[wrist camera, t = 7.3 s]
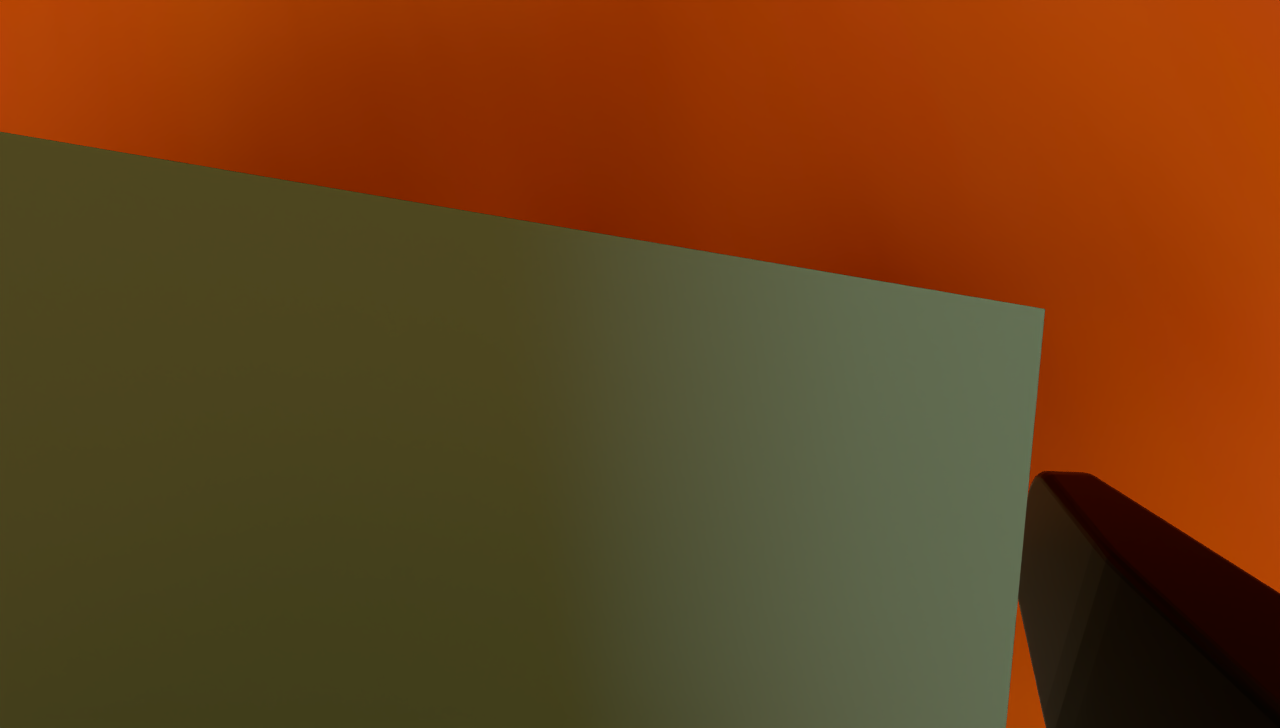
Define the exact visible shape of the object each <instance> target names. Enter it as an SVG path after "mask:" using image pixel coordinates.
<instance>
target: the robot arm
mask: <svg viewBox="0 0 1280 728" xmlns="http://www.w3.org/2000/svg"><path fill="white" fill-rule="evenodd" d="M1018 601H1019V605H1020V610H1021V615H1022V619H1023V624H1024V629H1025V633H1026V638H1027V643H1028V647H1029V652H1030V657H1031V661H1032V666H1033V671H1034V675H1035V680H1036V685H1037V689H1038V694H1039V699H1040V703H1041V708H1042V712H1043V717H1044V721H1045V725H1046V728H1280V593H1278V592H1277V591H1275V590H1274V589H1272V588H1270V587H1269V586H1267V585H1266V584H1264V583H1263V582H1261V581H1259V580H1258V579H1256V578H1255V577H1253V576H1251V575H1250V574H1248V573H1247V572H1245V571H1244V570H1242V569H1240V568H1239V567H1237V566H1236V565H1234V564H1233V563H1231V562H1229V561H1228V560H1226V559H1225V558H1223V557H1221V556H1220V555H1218V554H1217V553H1215V552H1214V551H1212V550H1210V549H1209V548H1207V547H1206V546H1204V545H1203V544H1201V543H1199V542H1198V541H1196V540H1195V539H1193V538H1191V537H1190V536H1188V535H1187V534H1185V533H1184V532H1182V531H1180V530H1179V529H1177V528H1176V527H1174V526H1172V525H1171V524H1169V523H1168V522H1166V521H1165V520H1163V519H1161V518H1160V517H1158V516H1157V515H1155V514H1154V513H1152V512H1150V511H1149V510H1147V509H1146V508H1144V507H1142V506H1141V505H1139V504H1138V503H1136V502H1135V501H1133V500H1131V499H1130V498H1128V497H1127V496H1125V495H1124V494H1122V493H1120V492H1119V491H1117V490H1116V489H1114V488H1112V487H1111V486H1109V485H1108V484H1106V483H1105V482H1103V481H1101V480H1100V479H1098V478H1097V477H1095V476H1093V475H1091V474H1088V473H1083V472H1058V471H1044V472H1041V473H1039V474H1038V475H1037V476H1036V477H1035V478H1034V480H1033V482H1032V484H1031V486H1030V489H1029V493H1028V497H1027V507H1026V517H1025V528H1024V539H1023V549H1022V560H1021V571H1020V581H1019V592H1018Z"/></svg>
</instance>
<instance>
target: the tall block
mask: <svg viewBox="0 0 1280 728" xmlns="http://www.w3.org/2000/svg"><path fill="white" fill-rule="evenodd" d="M1044 315H1045V309H1042V308H1036V307H1030V306H1024V305H1018V304H1012V303H1007V302H1001V301H995V300H989V299H983V298H977V297H971V296H965V295H959V294H954V293H948V292H942V291H936V290H930V289H924V288H918V287H912V286H906V285H900V284H895V283H889V282H883V281H877V280H871V279H865V278H859V277H853V276H847V275H842V274H836V273H830V272H824V271H818V270H812V269H806V268H800V267H794V266H788V265H783V264H777V263H771V262H765V261H759V260H753V259H747V258H741V257H735V256H730V255H724V254H718V253H712V252H706V251H700V250H694V249H688V248H682V247H676V246H671V245H665V244H659V243H653V242H647V241H641V240H635V239H629V238H623V237H618V236H612V235H606V234H600V233H594V232H588V231H582V230H576V229H570V228H564V227H559V226H553V225H547V224H541V223H535V222H529V221H523V220H517V219H511V218H506V217H500V216H494V215H488V214H482V213H476V212H470V211H464V210H458V209H452V208H447V207H441V206H435V205H429V204H423V203H417V202H411V201H405V200H399V199H393V198H388V197H382V196H376V195H370V194H364V193H358V192H352V191H346V190H340V189H335V188H329V187H323V186H317V185H311V184H305V183H299V182H293V181H287V180H281V179H276V178H270V177H264V176H258V175H252V174H246V173H240V172H234V171H228V170H223V169H217V168H211V167H205V166H199V165H193V164H187V163H181V162H175V161H169V160H164V159H158V158H152V157H146V156H140V155H134V154H128V153H122V152H116V151H111V150H105V149H99V148H93V147H87V146H81V145H75V144H69V143H63V142H57V141H52V140H46V139H40V138H34V137H28V136H22V135H16V134H10V133H4V132H0V728H1006V720H1007V709H1008V699H1009V688H1010V677H1011V667H1012V656H1013V645H1014V635H1015V624H1016V613H1017V603H1018V592H1019V581H1020V571H1021V560H1022V549H1023V539H1024V528H1025V517H1026V507H1027V496H1028V485H1029V475H1030V464H1031V453H1032V443H1033V432H1034V421H1035V411H1036V400H1037V389H1038V379H1039V368H1040V357H1041V347H1042V336H1043V325H1044Z"/></svg>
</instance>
